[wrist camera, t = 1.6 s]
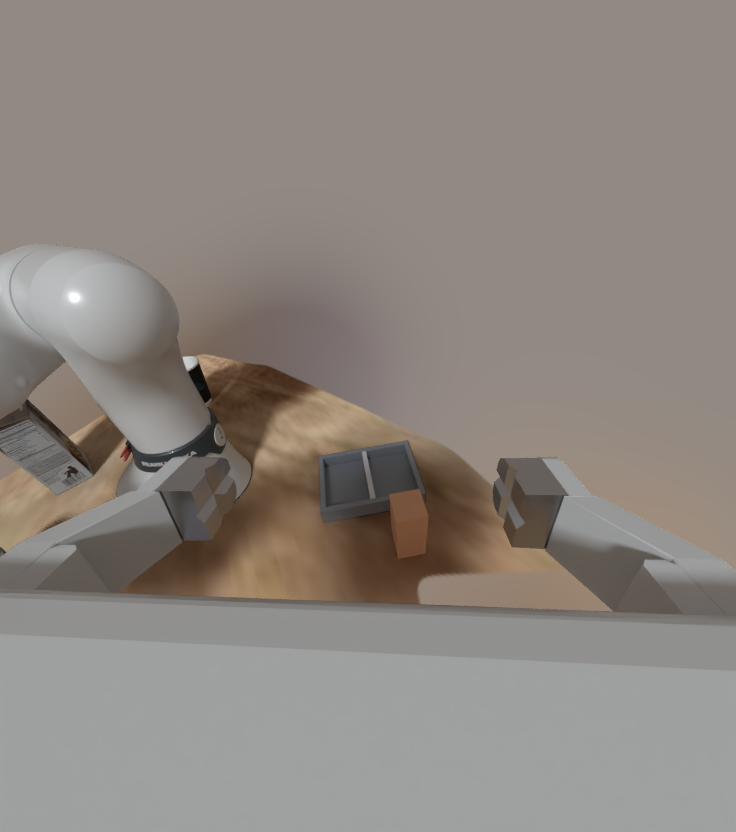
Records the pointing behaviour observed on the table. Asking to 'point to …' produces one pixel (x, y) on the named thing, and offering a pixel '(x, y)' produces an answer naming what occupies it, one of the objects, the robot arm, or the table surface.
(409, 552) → the block
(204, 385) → the dixie cup
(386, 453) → the organiser
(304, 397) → the table surface
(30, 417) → the coffee box
